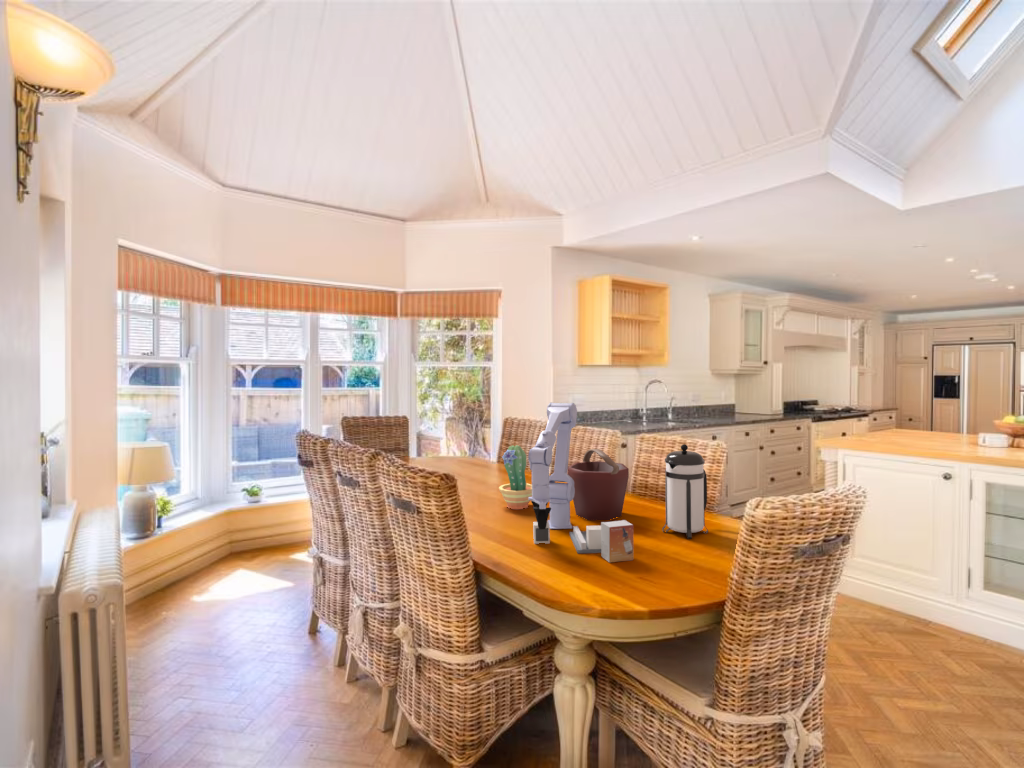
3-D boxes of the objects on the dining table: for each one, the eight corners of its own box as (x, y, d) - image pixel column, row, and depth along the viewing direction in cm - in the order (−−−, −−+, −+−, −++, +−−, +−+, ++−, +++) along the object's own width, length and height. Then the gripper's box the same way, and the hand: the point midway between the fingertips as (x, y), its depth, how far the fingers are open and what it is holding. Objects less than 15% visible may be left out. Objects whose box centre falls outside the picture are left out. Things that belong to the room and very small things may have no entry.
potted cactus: (493, 504, 219) (491, 444, 218) (526, 499, 226) (525, 441, 225) (508, 513, 205) (507, 449, 204) (543, 508, 212) (542, 446, 211)
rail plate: (569, 534, 178) (569, 514, 178) (604, 533, 178) (604, 513, 178) (577, 553, 160) (577, 530, 160) (616, 552, 160) (616, 529, 160)
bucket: (634, 523, 189) (633, 454, 188) (572, 525, 189) (571, 455, 188) (619, 505, 214) (618, 444, 213) (564, 507, 213) (563, 445, 212)
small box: (609, 563, 152) (608, 527, 151) (600, 556, 157) (600, 521, 157) (634, 560, 154) (633, 524, 153) (625, 553, 159) (624, 519, 159)
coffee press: (715, 540, 169) (715, 448, 168) (664, 538, 172) (663, 447, 171) (706, 524, 186) (706, 440, 185) (660, 523, 189) (659, 440, 188)
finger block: (533, 539, 174) (533, 521, 173) (548, 539, 174) (548, 521, 174) (534, 544, 169) (534, 525, 169) (549, 543, 169) (549, 525, 169)
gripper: (526, 479, 178) (527, 519, 179) (529, 489, 164) (530, 532, 164) (547, 479, 178) (548, 518, 179) (552, 488, 164) (552, 531, 164)
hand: (541, 525), depth 171 cm, fingers open, 7 cm apart
